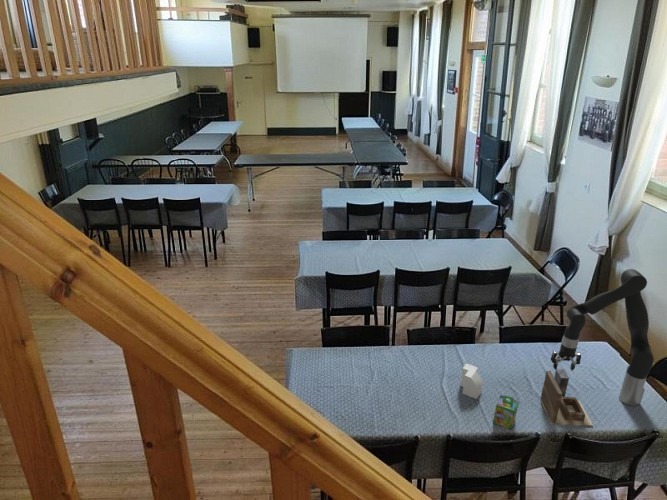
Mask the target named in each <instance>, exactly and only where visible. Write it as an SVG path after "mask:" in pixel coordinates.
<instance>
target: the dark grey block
mask: <svg viewBox="0 0 667 500" xmlns="http://www.w3.org/2000/svg"><path fill="white" fill-rule="evenodd" d="M553 377H554V379H555V380H556V382H557V384H558V386H559V388H560V390H561V392H562V397H566V393H567V389H568V384H569V380H570V378H569V375H568V374H567V372H566V370H565V368H557V369H556V370H555V373H554V376H553Z"/></svg>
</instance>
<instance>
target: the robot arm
mask: <svg viewBox="0 0 667 500" xmlns="http://www.w3.org/2000/svg"><path fill="white" fill-rule="evenodd" d="M620 283H621V285H619V286H618V287H616V288H614V289H612V290H610V291H605V292H602V293H599V294H596V295H595V296H593V297H592V298H590V299H588V300H587V301H585V302H582V303H579V304H576V305H574V306H571V307H570V308H569V309H568V310H567V311H566V316H567V318H568V320H569V324H568V325H566V326H565V330H564V334H563V336H562V339H561V344H560V347H559V351H555V350H553V351H552V353H551V357H550V361H551V363H552V364H553V365H552V368H553V369H554V370H555V371H556V369H558V364H559V363H561V362H562V361H563V362H564V361H566V362H571V364H570V367H569V369H570V370H571V371H573V372H574V370H575V369H576V366H577V365H580V364H581V360H582V355H581V353H580V352H577V349H578V345H579V339H580V338H579V337H580V336H581V335H580V334H581V332H582V330H583V329H584V327H585V325H586V316H585V315H586V314H590V315H591V316H592V315H595V314H597V313H600V311H603V310H604V309H605V308H608V307H609V306H611V305H612V304H614V303H616V302H619V301H620V300H621V301H622V299H624V304H625V305H624V306H625V312H626V313H625V315H626V322H627V323H626V324H627V328H628V330H629V333H630V355H631V362H630V364H629V365H627V368H626V371H625V375H624V377H623V380H622V381H623V382H622V384H621V389H620V392H619V394H618V399H619V401H621V402H622V403H623V404H625V405H627V406H630V407H631V406H632V407H635V406H638V405H641V403H642V400H643V397H644V394H645V388H644V387H645V384H646V381H647V377H648V375H649V374H651V370H652V368H653V364H654V359H655V358H654V355H653V352H652V349H651V347H650V343H649V338H648V331H649V327H650V326H649V314H648V309H647V307H646V303H645V301H644V298H643V297H642V292H641V291H643V290H644V289H646V287H647V285H648V281H647V278H646V277H645V276H644V275H643V274H642V273H641V272H639V271H638V270H636V269H633V268H629V269H625V270H624V271H623V272H622V273H621V275H620ZM576 352H577V353H576ZM575 357H576V358H575ZM574 358H575V360H574Z"/></svg>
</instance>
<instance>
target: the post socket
mask: <svg viewBox="0 0 667 500" xmlns="http://www.w3.org/2000/svg"><path fill="white" fill-rule="evenodd" d="M554 377H555V376H554V375H553V373H552V370H546V372H545V377H544V380H543V381H544V382H543V385H542V386H543V387H542V391H541V396H540V403H541V404H542V406H543V409H544V411H545V413H546V415H547V418H548V420H549V422H550V425H559V426H578V427H589V426H593V427H594V424H593V422H592V421H591V418H590V417H589V416H588V413H587V411H586V409H585V408H584V406H583V404H582V402H581V401H580V400H579V399H577V397H576V396H574V397H573V396H565V397H564V396H562V392H561V390H560V388H559V386H558V384H557V382H556V380H555V379H554Z"/></svg>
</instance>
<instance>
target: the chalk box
mask: <svg viewBox="0 0 667 500" xmlns="http://www.w3.org/2000/svg"><path fill="white" fill-rule="evenodd" d="M518 407H519V401H518V400H516V399H515V398H514V397H512V396H508V395H500V396H499V398H498V400H497V403H496V405H495V410H494V415H493V420H492V424H495V425H498V426H500V427H503V428H505V429H508V430H510V429H511V430H512V429H513V427H514V423H515V420H516V416H517V413H518Z"/></svg>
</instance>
